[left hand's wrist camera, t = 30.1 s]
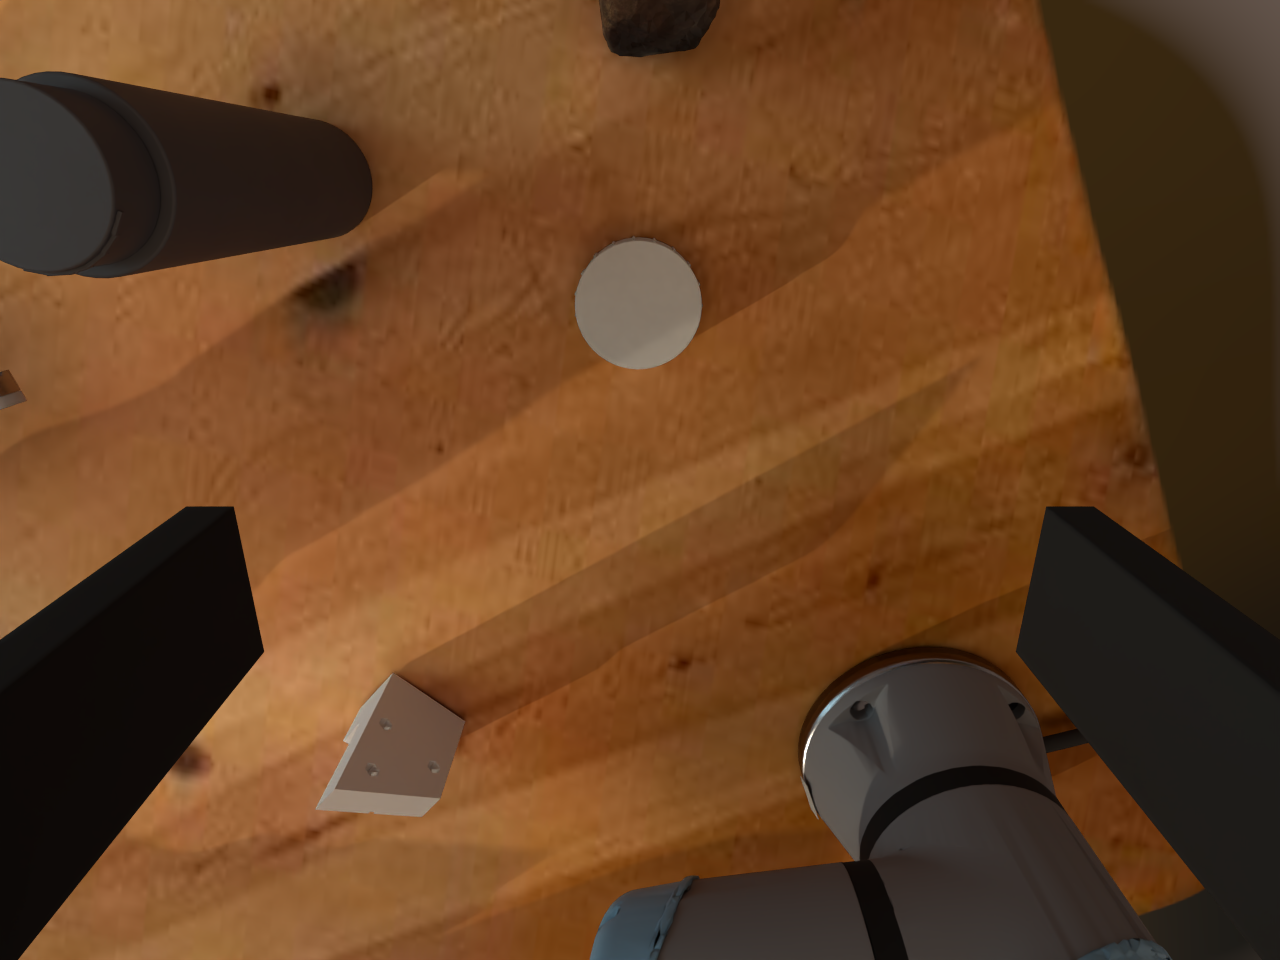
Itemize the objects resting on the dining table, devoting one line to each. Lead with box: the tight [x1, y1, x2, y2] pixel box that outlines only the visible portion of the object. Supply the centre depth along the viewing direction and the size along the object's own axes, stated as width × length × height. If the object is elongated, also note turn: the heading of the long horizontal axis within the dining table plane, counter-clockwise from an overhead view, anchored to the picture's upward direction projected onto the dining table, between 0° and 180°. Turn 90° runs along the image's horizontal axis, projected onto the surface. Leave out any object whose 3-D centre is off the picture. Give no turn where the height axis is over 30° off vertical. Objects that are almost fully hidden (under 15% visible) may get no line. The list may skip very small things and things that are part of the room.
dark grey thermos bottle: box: [0, 71, 372, 278], centre depth 29 cm, size 6×6×20 cm
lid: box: [575, 236, 703, 369], centre depth 39 cm, size 6×6×2 cm
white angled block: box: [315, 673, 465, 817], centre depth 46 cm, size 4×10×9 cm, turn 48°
